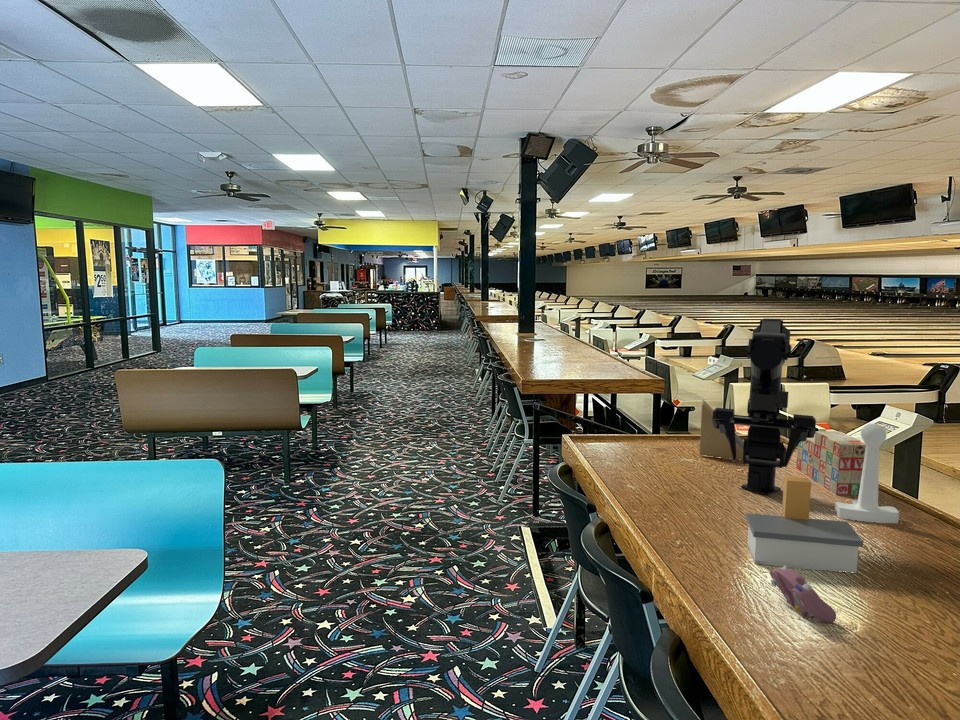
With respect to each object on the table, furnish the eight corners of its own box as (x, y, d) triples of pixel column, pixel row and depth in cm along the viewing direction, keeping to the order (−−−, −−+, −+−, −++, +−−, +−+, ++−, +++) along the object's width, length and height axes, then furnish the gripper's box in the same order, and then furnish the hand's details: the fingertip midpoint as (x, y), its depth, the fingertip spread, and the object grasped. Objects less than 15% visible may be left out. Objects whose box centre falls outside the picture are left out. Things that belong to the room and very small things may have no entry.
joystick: (839, 519, 134) (847, 424, 132) (830, 507, 142) (837, 416, 139) (900, 524, 131) (909, 428, 129) (887, 511, 139) (895, 419, 136)
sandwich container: (759, 462, 176) (762, 408, 174) (699, 457, 181) (701, 404, 179) (756, 454, 184) (760, 402, 182) (699, 449, 189) (702, 398, 187)
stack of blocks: (795, 468, 170) (798, 422, 169) (819, 468, 170) (823, 422, 168) (836, 495, 149) (840, 443, 148) (864, 496, 149) (868, 443, 147)
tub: (747, 545, 121) (748, 519, 121) (842, 554, 117) (844, 527, 117) (754, 563, 113) (756, 536, 113) (856, 574, 110) (858, 545, 109)
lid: (744, 519, 123) (746, 473, 122) (843, 527, 119) (847, 480, 118) (753, 541, 113) (756, 492, 111) (862, 551, 109) (866, 500, 107)
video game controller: (776, 602, 103) (760, 565, 102) (802, 588, 103) (785, 552, 102) (813, 636, 94) (795, 596, 92) (841, 621, 94) (823, 581, 93)
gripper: (714, 371, 130) (706, 445, 125) (819, 377, 123) (815, 457, 117) (717, 392, 140) (710, 462, 134) (815, 399, 132) (812, 474, 126)
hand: (759, 463), depth 128 cm, fingers open, 9 cm apart
